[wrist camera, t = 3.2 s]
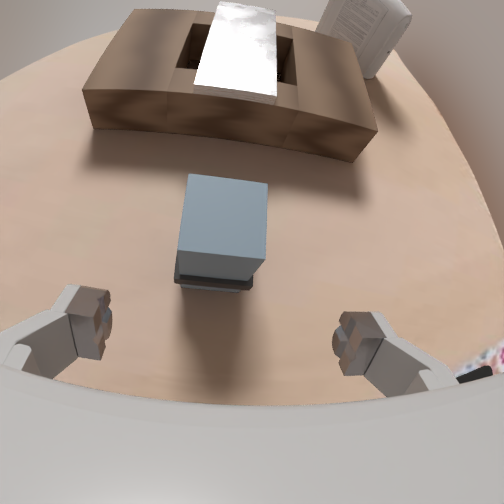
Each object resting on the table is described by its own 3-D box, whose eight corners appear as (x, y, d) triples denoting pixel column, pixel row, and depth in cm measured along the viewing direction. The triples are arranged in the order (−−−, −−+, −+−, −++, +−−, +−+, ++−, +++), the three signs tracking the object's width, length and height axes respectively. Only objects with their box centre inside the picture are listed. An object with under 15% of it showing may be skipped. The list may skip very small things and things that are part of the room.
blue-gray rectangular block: (176, 291, 21) (169, 255, 14) (183, 228, 23) (183, 167, 15) (242, 297, 22) (271, 266, 14) (245, 235, 23) (273, 179, 16)
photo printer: (380, 77, 34) (424, 12, 23) (363, 82, 33) (409, 10, 21) (327, 33, 36) (358, -32, 24) (307, 36, 34) (338, -35, 23)
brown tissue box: (93, 128, 24) (81, 89, 19) (135, 43, 28) (134, 9, 24) (352, 162, 28) (378, 131, 23) (335, 72, 32) (351, 43, 28)
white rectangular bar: (191, 119, 23) (194, 83, 20) (214, 29, 28) (219, 1, 25) (264, 129, 24) (276, 96, 21) (267, 37, 29) (275, 10, 26)
